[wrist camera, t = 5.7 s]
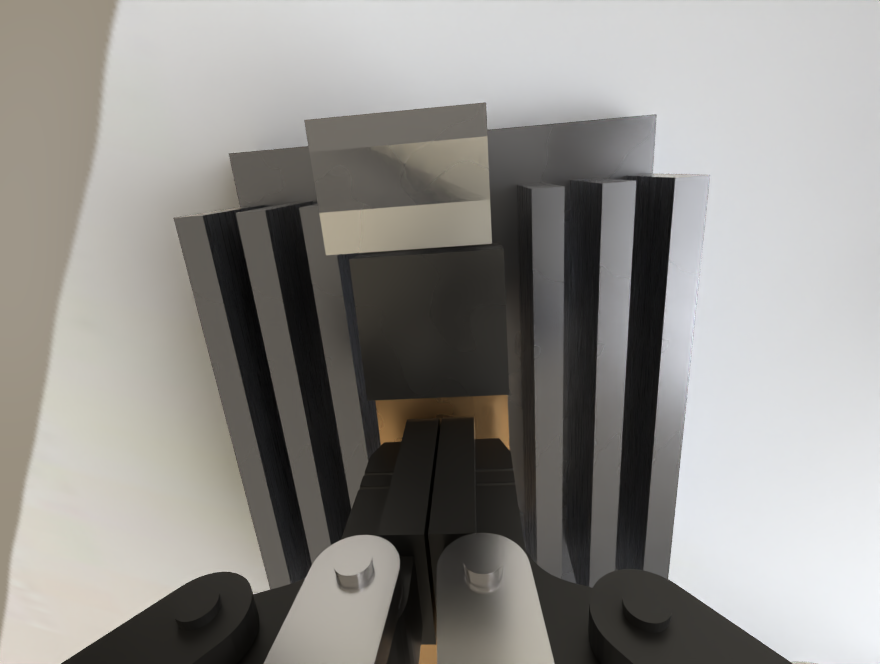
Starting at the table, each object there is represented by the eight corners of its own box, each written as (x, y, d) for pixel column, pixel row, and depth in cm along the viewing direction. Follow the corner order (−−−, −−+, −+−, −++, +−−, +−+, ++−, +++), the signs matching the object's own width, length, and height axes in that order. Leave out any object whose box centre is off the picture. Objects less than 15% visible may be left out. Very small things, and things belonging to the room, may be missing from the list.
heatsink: (253, 155, 15) (-31, 136, 6) (636, 120, 14) (893, 43, 5) (339, 591, 21) (250, 876, 13) (611, 589, 20) (715, 898, 11)
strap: (350, 250, 11) (324, 260, 9) (519, 238, 11) (529, 247, 9) (411, 735, 15) (402, 814, 13) (534, 738, 15) (543, 819, 13)
